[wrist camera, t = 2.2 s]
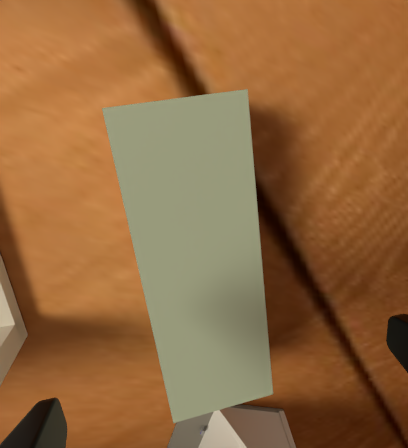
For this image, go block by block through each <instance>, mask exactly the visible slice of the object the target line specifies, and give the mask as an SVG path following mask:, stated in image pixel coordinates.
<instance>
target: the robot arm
mask: <svg viewBox="0 0 408 448" xmlns="http://www.w3.org/2000/svg"><path fill="white" fill-rule="evenodd" d="M386 341H387V345H388V347H389V349H390V351H391V352H392V353H393V354H394V356H395V357H396V358H397V360H398V361H399V362H400V364H401V365H402V366H403V367H404V369H405V370H406V371H407V373H408V315H407V314H400V315H395V316H392V317H390V318H389V320H388V329H387V339H386ZM66 438H67V423H66V420H65V417H64V414H63V410H62V407H61V404H60V401H59V400H58V398H50V399H46V400H42V401H39V402H38V403H37V404H36V405H35V406H34V407H33V408H32V409H31V410H30V411H29V413H28V414H27V415H26V416H25V417H24V418H23V419H22V420H21V422H20V423H19V424H18V425H17V426H16V427H15V428H14V430H13V431H12V432H11V433H10V434H9V435H8V436H7V438H6V439H5V440H4V441H3V442H2V443H1V444H0V448H66Z"/></svg>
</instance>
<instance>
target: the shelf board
mask: <svg viewBox="0 0 408 448" xmlns="http://www.w3.org/2000/svg"><path fill="white" fill-rule="evenodd" d="M102 110H103V115H104V119H105V123H106V128H107V132H108V137H109V141H110V145H111V150H112V154H113V159H114V163H115V167H116V172H117V176H118V181H119V185H120V189H121V194H122V198H123V203H124V207H125V211H126V216H127V220H128V225H129V229H130V233H131V238H132V242H133V247H134V251H135V255H136V260H137V264H138V269H139V273H140V278H141V282H142V286H143V291H144V295H145V300H146V304H147V308H148V313H149V317H150V322H151V326H152V330H153V335H154V339H155V344H156V348H157V352H158V357H159V361H160V366H161V370H162V374H163V379H164V383H165V388H166V392H167V396H168V401H169V405H170V410H171V414H172V418H173V423H176V422H179V421H183V420H186V419H190V418H193V417H197V416H200V415H203V414H207V413H210V412H214V411H217V410H221V409H224V408H227V407H231V406H234V405H238V404H241V403H245V402H248V401H251V400H255V399H258V398H262V397H265V396H269V395H272V394H273V387H272V375H271V363H270V351H269V339H268V327H267V315H266V303H265V292H264V280H263V268H262V256H261V244H260V232H259V220H258V208H257V196H256V184H255V172H254V160H253V148H252V136H251V124H250V113H249V101H248V89H246V90H238V91H230V92H223V93H215V94H207V95H200V96H192V97H184V98H177V99H169V100H162V101H154V102H146V103H139V104H131V105H123V106H116V107H108V108H102Z"/></svg>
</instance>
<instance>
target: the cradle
mask: <svg viewBox="0 0 408 448" xmlns="http://www.w3.org/2000/svg"><path fill="white" fill-rule="evenodd" d="M27 336H28V334H27V331H26V328H25V325H24V322H23V319H22V316H21V313H20V310H19V307H18V304H17V301H16V298H15V295H14V292H13V289H12V286H11V283H10V281H9V278H8V275H7V272H6V269H5V266H4V263H3V260H2V257H1V254H0V386H1V384H2V382H3V380H4V378H5V376H6V374H7V373H8V371H9V369H10V367H11V365H12V363H13V362H14V360H15V358H16V356H17V354H18V352H19V350H20V349H21V347H22V345H23V343H24V341H25V339H26V338H27Z"/></svg>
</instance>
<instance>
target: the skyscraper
mask: <svg viewBox="0 0 408 448" xmlns="http://www.w3.org/2000/svg"><path fill="white" fill-rule="evenodd" d="M167 448H296V446H295V443H294V440H293V437H292V434H291V431H290V428H289V425H288V422H287V419H286V416H285V413H284V410H283V409H278V408H269V407H259V406H250V405H240V404H238V405H234V406H231V407H227V408H224V409H221V410H217V411H214V412H210V413H207V414H203V415H200V416H197V417H193V418H190V419H186V420H183V421H179V422H177V423H176V426H175V428H174V431H173V433H172V436H171V439H170V441H169V444H168V446H167Z"/></svg>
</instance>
